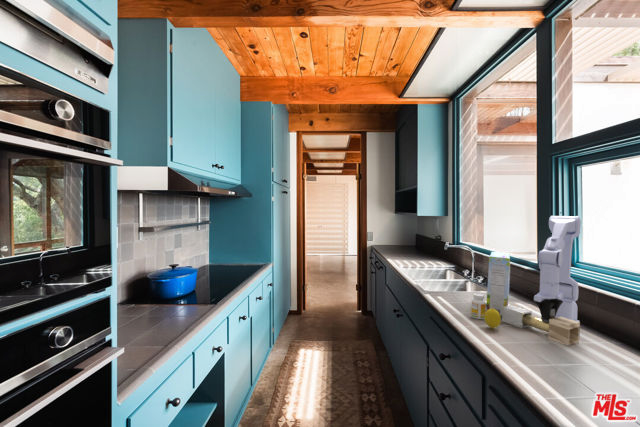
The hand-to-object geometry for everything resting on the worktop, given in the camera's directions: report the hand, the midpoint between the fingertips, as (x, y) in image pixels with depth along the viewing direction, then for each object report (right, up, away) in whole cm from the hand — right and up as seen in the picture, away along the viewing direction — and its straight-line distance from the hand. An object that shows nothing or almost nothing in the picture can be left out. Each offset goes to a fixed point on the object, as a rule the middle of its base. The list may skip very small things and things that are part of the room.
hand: (548, 318), depth 115 cm
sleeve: (-5, -6, +11) cm, 13 cm away
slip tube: (-1, -5, +2) cm, 5 cm away
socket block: (+2, -6, -5) cm, 8 cm away
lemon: (-18, -6, +5) cm, 20 cm away
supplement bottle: (-17, -6, +17) cm, 25 cm away
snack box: (-2, -6, +28) cm, 29 cm away
